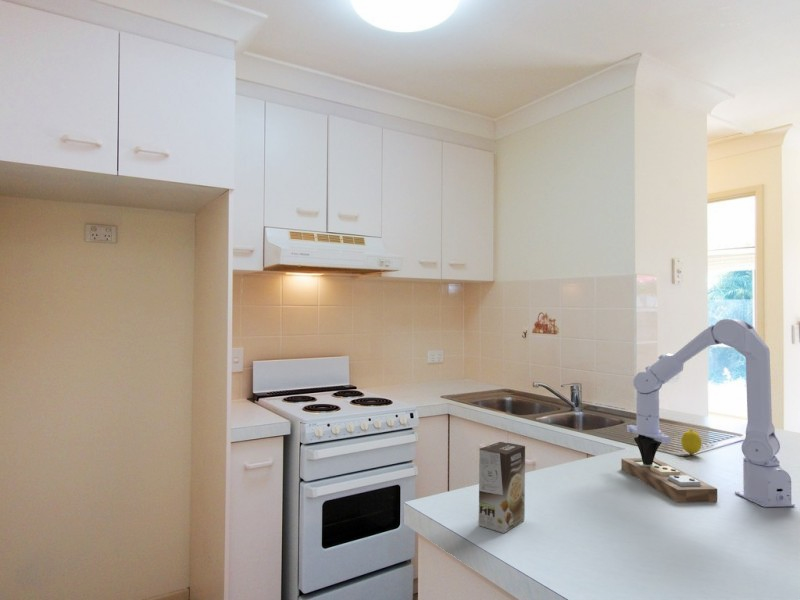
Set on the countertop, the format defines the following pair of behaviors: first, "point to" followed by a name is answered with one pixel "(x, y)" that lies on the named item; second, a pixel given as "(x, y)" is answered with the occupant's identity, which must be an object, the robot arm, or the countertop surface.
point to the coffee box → (501, 486)
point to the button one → (647, 465)
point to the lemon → (691, 442)
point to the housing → (669, 482)
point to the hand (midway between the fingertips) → (647, 463)
